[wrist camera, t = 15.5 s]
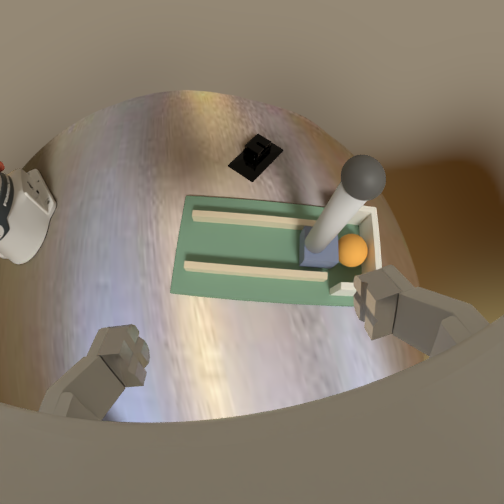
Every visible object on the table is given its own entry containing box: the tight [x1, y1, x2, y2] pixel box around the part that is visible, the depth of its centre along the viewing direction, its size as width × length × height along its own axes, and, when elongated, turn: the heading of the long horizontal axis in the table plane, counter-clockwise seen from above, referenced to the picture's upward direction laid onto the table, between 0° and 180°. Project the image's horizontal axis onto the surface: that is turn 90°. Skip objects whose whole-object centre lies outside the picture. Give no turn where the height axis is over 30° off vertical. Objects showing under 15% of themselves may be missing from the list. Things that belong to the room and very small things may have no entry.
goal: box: [184, 206, 382, 296], centre depth 39 cm, size 28×13×5 cm, turn 86°
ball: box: [338, 234, 368, 267], centre depth 39 cm, size 5×5×5 cm
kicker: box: [299, 155, 386, 269], centre depth 30 cm, size 6×5×22 cm
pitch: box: [170, 196, 362, 306], centre depth 41 cm, size 31×16×1 cm, turn 86°
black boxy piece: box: [228, 134, 283, 182], centre depth 45 cm, size 12×7×5 cm, turn 142°
